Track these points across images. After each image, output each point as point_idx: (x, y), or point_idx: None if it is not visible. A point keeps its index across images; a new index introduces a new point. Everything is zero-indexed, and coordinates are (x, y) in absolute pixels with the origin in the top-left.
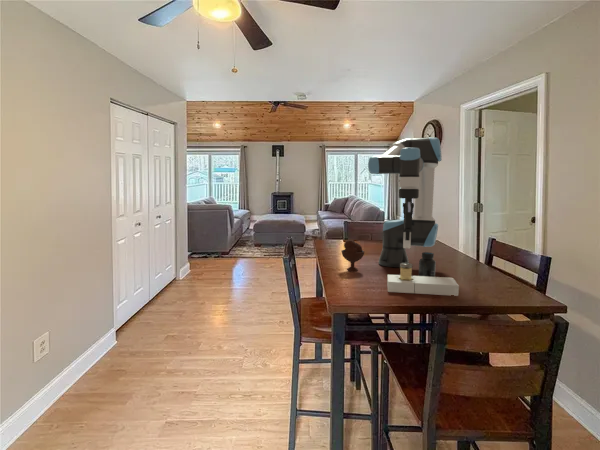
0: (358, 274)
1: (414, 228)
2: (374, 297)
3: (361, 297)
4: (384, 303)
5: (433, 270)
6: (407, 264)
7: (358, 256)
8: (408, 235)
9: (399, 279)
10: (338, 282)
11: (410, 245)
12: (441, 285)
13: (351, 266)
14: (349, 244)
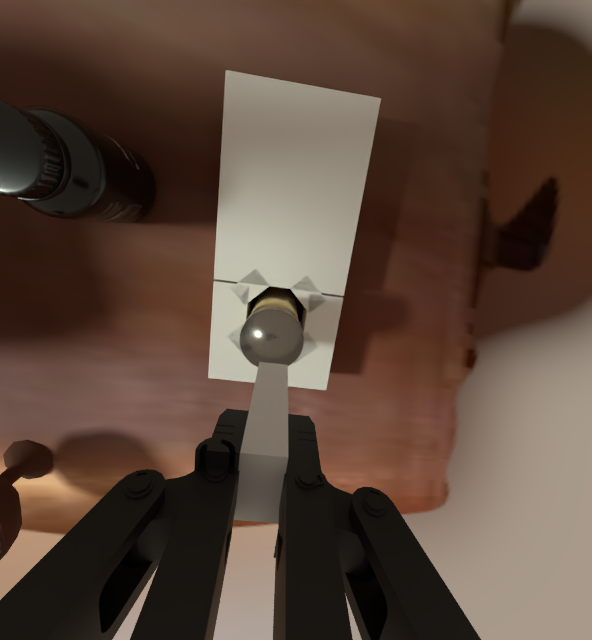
0: (94, 442)
1: None
2: (382, 415)
3: (381, 447)
4: (439, 396)
5: (117, 146)
6: (280, 336)
7: (1, 497)
8: (317, 458)
9: None
10: None
11: (287, 376)
12: (364, 184)
13: (22, 475)
14: None
